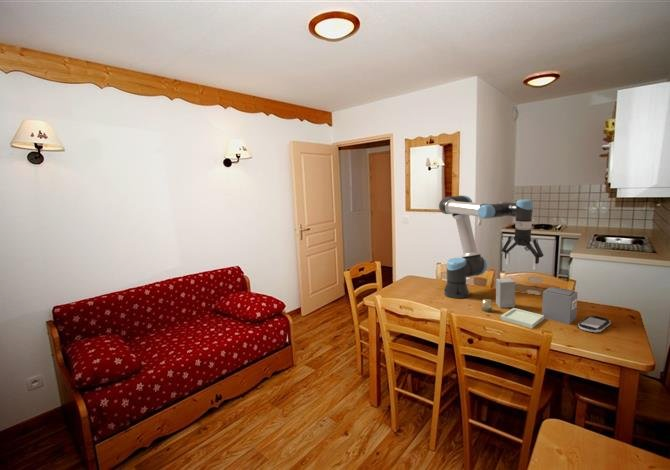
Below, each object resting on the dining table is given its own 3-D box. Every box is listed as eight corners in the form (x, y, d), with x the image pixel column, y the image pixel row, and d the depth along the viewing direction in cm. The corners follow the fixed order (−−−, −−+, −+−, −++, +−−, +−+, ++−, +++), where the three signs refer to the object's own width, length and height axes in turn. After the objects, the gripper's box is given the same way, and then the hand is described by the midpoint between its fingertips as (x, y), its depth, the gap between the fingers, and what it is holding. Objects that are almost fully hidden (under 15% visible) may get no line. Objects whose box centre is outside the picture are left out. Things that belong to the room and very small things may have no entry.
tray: (500, 319, 166) (500, 315, 166) (513, 311, 175) (513, 307, 175) (532, 328, 154) (532, 324, 154) (544, 319, 163) (544, 315, 163)
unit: (541, 317, 165) (543, 290, 163) (549, 311, 171) (550, 285, 169) (570, 324, 156) (571, 296, 154) (577, 318, 162) (578, 291, 160)
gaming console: (597, 336, 144) (598, 331, 144) (574, 329, 152) (574, 324, 151) (613, 323, 155) (613, 319, 154) (590, 318, 162) (591, 313, 162)
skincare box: (509, 303, 186) (510, 277, 184) (515, 308, 179) (516, 281, 177) (494, 303, 187) (495, 277, 184) (499, 308, 180) (500, 281, 177)
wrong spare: (480, 310, 179) (480, 300, 178) (484, 308, 182) (484, 298, 181) (489, 313, 175) (489, 302, 174) (493, 310, 178) (493, 300, 177)
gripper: (496, 227, 177) (494, 264, 181) (547, 232, 158) (544, 273, 162) (502, 225, 182) (500, 261, 186) (552, 229, 163) (549, 269, 166)
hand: (520, 266), depth 174 cm, fingers open, 13 cm apart
